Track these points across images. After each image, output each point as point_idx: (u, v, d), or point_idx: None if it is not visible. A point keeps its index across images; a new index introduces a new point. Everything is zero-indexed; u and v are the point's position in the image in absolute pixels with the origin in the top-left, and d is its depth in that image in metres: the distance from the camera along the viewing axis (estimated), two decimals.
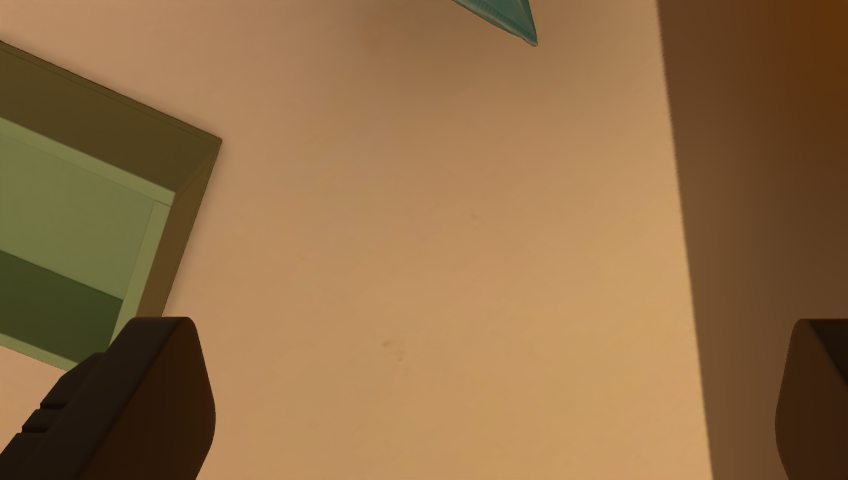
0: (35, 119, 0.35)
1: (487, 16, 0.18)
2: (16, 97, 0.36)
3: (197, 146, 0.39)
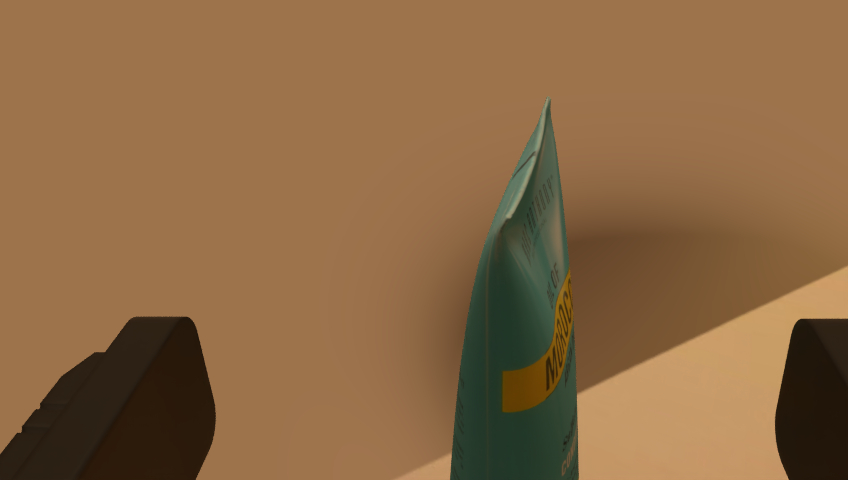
0: None
1: (544, 114, 0.22)
2: None
3: None
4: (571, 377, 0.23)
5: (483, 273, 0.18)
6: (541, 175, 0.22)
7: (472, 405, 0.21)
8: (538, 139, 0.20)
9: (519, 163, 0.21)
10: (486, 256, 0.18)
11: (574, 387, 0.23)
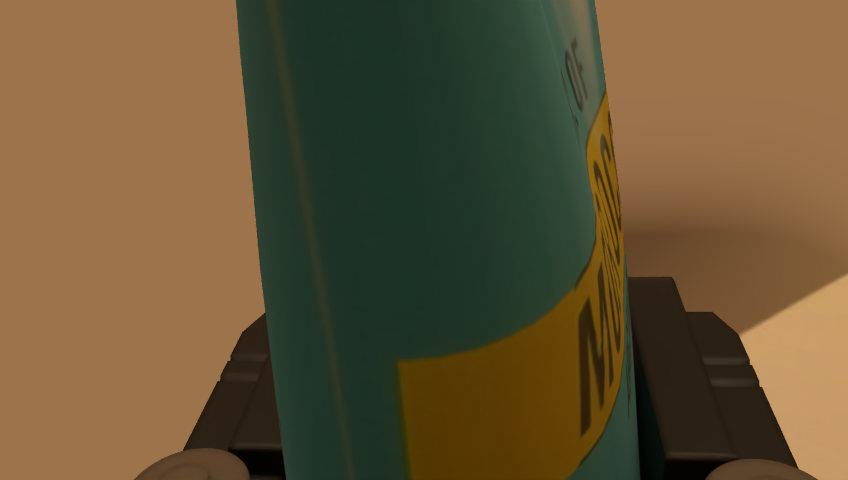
0: None
1: None
2: None
3: None
4: (633, 387, 0.08)
5: None
6: None
7: None
8: None
9: None
10: None
11: (636, 415, 0.09)
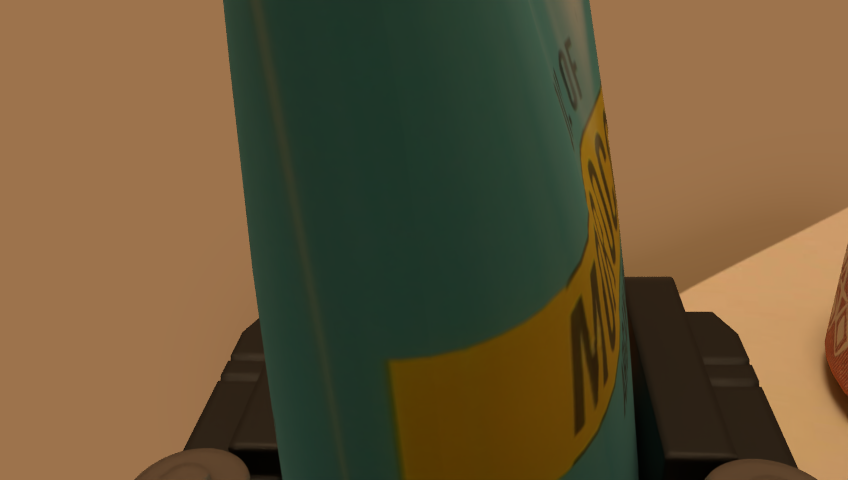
0: None
1: None
2: None
3: None
4: (630, 385, 0.08)
5: None
6: None
7: None
8: None
9: None
10: None
11: (634, 414, 0.09)
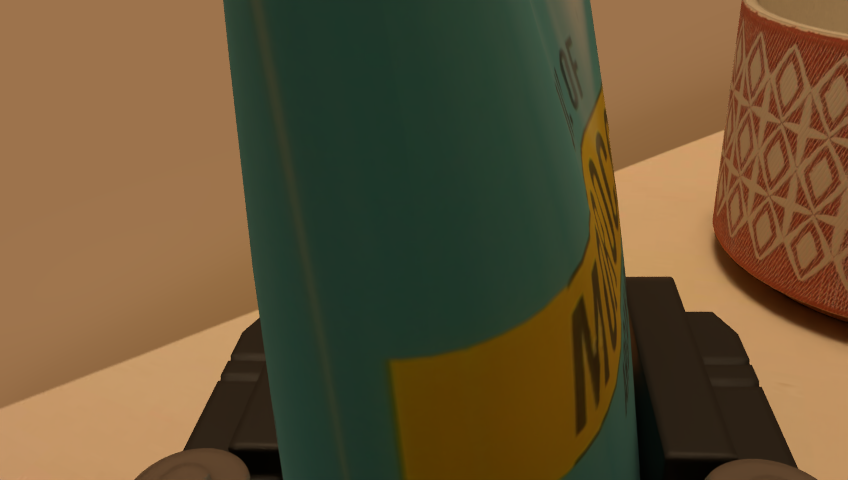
0: None
1: None
2: None
3: None
4: (632, 385, 0.08)
5: None
6: None
7: None
8: None
9: None
10: None
11: (635, 414, 0.08)
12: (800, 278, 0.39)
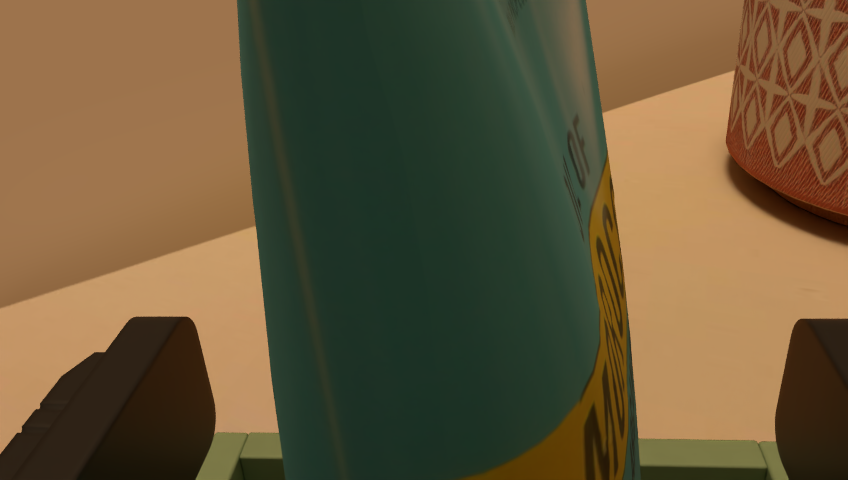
0: None
1: None
2: None
3: None
4: (637, 453, 0.08)
5: None
6: None
7: None
8: None
9: None
10: None
11: (640, 475, 0.09)
12: (823, 182, 0.36)
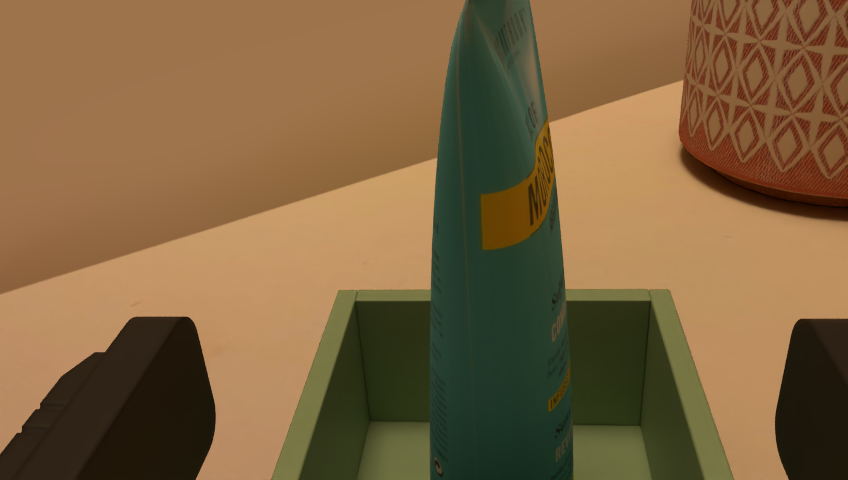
0: None
1: None
2: None
3: None
4: (556, 231, 0.21)
5: (452, 68, 0.16)
6: (511, 3, 0.20)
7: (448, 249, 0.19)
8: None
9: None
10: (455, 45, 0.16)
11: (560, 247, 0.21)
12: (742, 160, 0.49)
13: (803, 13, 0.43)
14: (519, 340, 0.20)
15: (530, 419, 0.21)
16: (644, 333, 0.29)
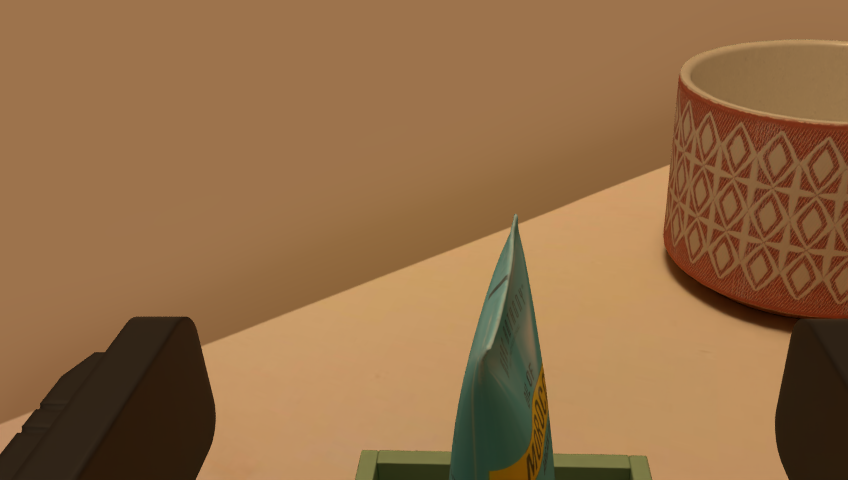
0: None
1: (513, 233, 0.25)
2: None
3: None
4: (549, 463, 0.25)
5: (468, 391, 0.21)
6: (513, 287, 0.25)
7: None
8: (509, 261, 0.23)
9: (493, 282, 0.24)
10: (470, 377, 0.20)
11: (552, 470, 0.26)
12: (719, 276, 0.53)
13: (772, 159, 0.47)
14: None
15: None
16: None
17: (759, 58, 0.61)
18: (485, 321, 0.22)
